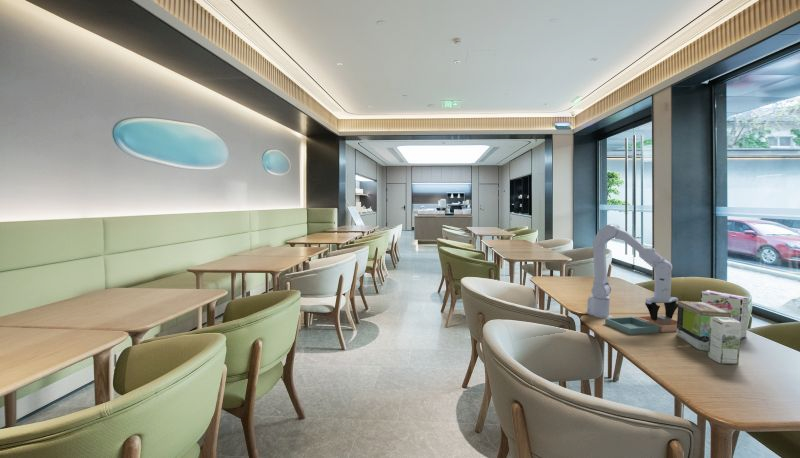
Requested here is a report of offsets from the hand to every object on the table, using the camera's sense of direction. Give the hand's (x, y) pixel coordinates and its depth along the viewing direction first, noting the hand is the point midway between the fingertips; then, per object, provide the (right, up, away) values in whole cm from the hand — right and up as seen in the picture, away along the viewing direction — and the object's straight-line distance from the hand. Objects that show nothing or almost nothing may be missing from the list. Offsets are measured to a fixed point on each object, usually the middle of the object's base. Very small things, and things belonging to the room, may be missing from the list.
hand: (661, 319), depth 156 cm
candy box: (+20, -4, -7) cm, 21 cm away
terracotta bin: (0, -3, 0) cm, 3 cm away
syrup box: (-4, -6, -34) cm, 35 cm away
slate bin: (-15, -4, -2) cm, 15 cm away
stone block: (0, -3, 0) cm, 3 cm away
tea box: (+1, -5, -19) cm, 19 cm away
